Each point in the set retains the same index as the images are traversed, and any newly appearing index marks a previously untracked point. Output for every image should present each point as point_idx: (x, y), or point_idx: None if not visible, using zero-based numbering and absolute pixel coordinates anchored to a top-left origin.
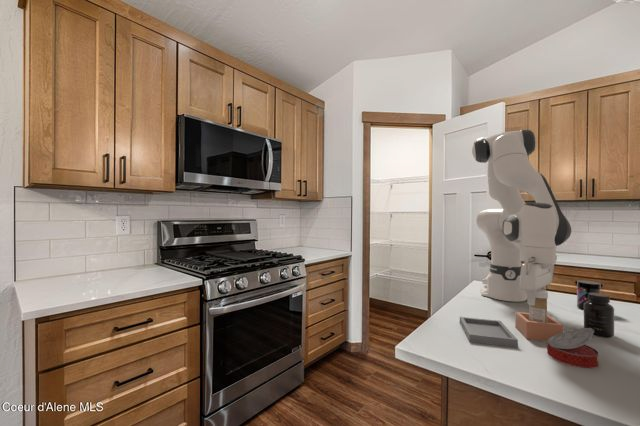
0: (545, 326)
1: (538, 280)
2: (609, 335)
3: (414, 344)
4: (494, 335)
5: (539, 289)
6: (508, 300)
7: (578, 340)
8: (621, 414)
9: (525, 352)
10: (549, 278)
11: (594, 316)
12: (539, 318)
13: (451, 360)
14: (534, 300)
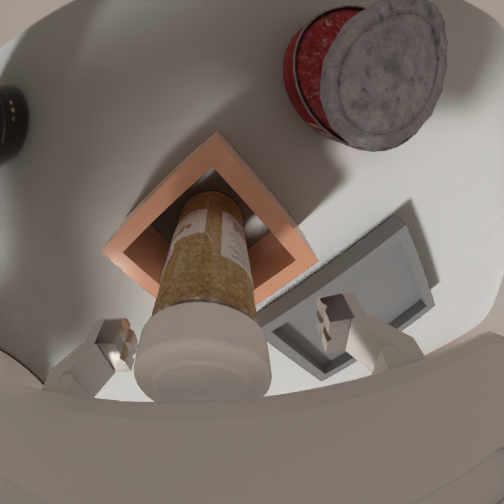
0: (268, 197)
1: (469, 431)
2: (11, 86)
3: (472, 320)
4: (373, 284)
5: (161, 392)
6: (26, 370)
7: (418, 53)
8: (500, 32)
9: (413, 187)
10: (7, 426)
11: None
12: (244, 243)
13: (500, 260)
14: (364, 313)
